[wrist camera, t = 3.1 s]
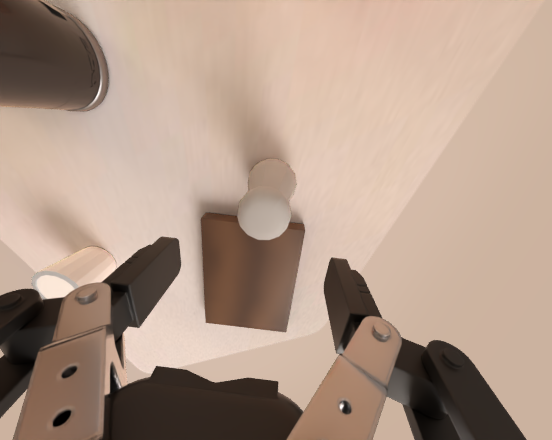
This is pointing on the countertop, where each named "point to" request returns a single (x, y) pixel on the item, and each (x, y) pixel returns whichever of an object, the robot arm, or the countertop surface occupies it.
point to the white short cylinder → (74, 272)
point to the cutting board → (248, 274)
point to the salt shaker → (267, 200)
